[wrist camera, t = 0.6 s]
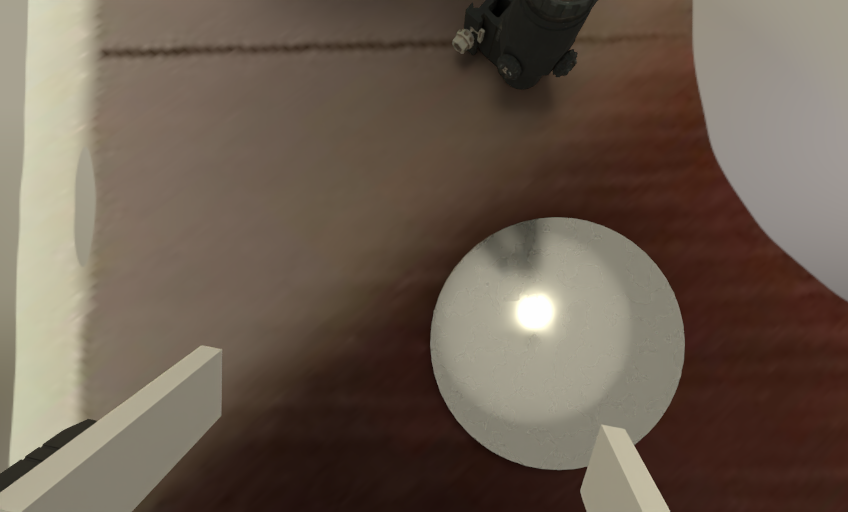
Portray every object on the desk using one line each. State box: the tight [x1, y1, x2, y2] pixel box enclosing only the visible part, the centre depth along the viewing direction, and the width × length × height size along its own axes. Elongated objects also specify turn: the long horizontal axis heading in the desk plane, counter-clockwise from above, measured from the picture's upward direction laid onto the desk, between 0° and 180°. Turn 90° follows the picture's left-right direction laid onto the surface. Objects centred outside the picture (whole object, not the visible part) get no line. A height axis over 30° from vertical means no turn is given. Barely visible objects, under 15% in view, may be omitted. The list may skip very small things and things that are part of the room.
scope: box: [452, 0, 597, 89], centre depth 32 cm, size 8×14×10 cm
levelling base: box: [430, 217, 685, 470], centre depth 37 cm, size 22×22×4 cm
